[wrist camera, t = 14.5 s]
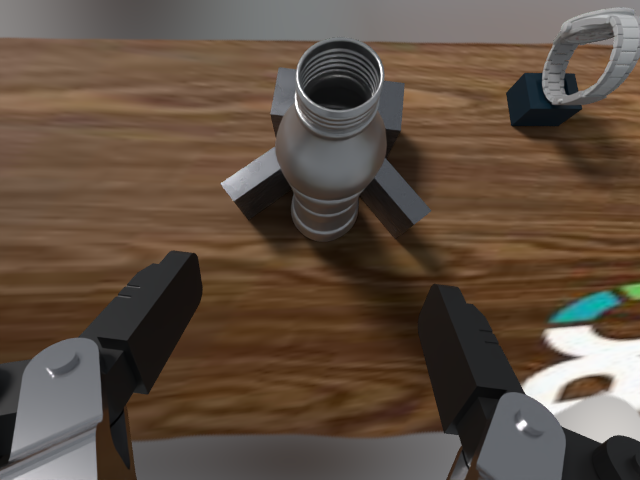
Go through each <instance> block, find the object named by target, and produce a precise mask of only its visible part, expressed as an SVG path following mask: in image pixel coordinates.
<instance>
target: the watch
mask: <svg viewBox="0 0 640 480" xmlns="http://www.w3.org/2000/svg"><path fill="white" fill-rule="evenodd" d="M634 13H635V10H633V9H630V8H622V7H621V8H610V9H603V10H597V11H593V12H589V13H585V14H582V15H579V16H576V17H574V18H571V19H569V20H567V21H566V22H565V23H563V25H562V27H561V31H560V32H559V34H558V35H557V36H556V38H555V39H554V41H553V47H552V49H551V50H550V52H549V54H548V57H547V60H550V61H546V62H545V65H544V69H543V70H547V71H543V73H524V74H523V75H522V76H521V78H520V79H519V80H518V81H517V82H516V83H515V84H514V85H513V86H512V87H511V88H510V89H509V91H508V92H507V93H506V95H507V101H508V108H509V114H510V120H511V126H559V125H561V124H562V123H563V122H565V121H566V120H568V119H569V118H570V117H572V116H573V115H574V114H576V113H577V112H579V111H580V110H581V109H582V106H581V105H585V104H590V103H593V102H596V101H599V100H602V99H604V98H606V95H608V94H610V93H611V92H612V91H614V90H615V89H617V88H618V87H619V86H620V84H622V83H623V82H624V80H625V79H626V78H627V77H628V75H629V73H631V71H632V70H633V68H634V66H635V65H636V63H637V60H638V59H639V57H640V16H634ZM612 37H615V38H614V45H613V47H614V49H613V50H612V53H611V57H610V60H615V61H609V63H608V65H607V67H606V69H605V73H603V74H602V76H601V77H600V79H599V80H598V81H597V83H595V84H594V85H593V86H591V87H589V88H588V89H586V90H584V91H579V92H578V87H577V82H576V78H575V74H565V71H564V70H566V68H567V65H568V63H569V61H565V60H570V58H571V56H572V54H573V53H574V51H573V50H575V49H576V48H577V46H578V45H579V44H580V45H584V44H587V43H591V42H597V41H601V40H606V39H609V38H612ZM555 53H566V54H555Z"/></svg>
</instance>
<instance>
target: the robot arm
mask: <svg viewBox="0 0 640 480" xmlns="http://www.w3.org/2000/svg"><path fill="white" fill-rule="evenodd" d="M201 297H202V281H201V274H200V268H199V261H198V257H197V255H196V254H195V253H189V252H181V251H170V252H169V253H168V254H167V255H166V257H165V258H164V259H163V260H162V261H161V262H160V264H151V265H150V266H148V267H146V268H145V269H143V270H141V271H140V272H138V273H137V274H136V275H135V276H134V277H133V278H132V280H131V281H130V282H129V283H128V284H127V287H124V288H123V289H122V290H121V292H120V293H119V294H118V297H115V298H114V299H113V300H112V301H111V302H110V304H109V305H108V306H107V307H106V308H105V309H104V310H103V311H102V312H101V313H100V314H99V316H98V317H97V318H96V319H95V320H94V321H93V322H92V323H91V324H90V325H89V326H88V328H87V329H86V330H85V331H84V332H83V333H82V334H81V335H80V336H79V337H78V338H72V339H67V340H63V341H61V342H58V343H56V344H54V345H51V346H50V347H48V348H46V349H44V350H43V351H42V352H40V353H39V354H38V355H36V356H35V357H34V358H33V359H30V360H24V361H17V362H10V363H4V364H0V480H137V478H136V473H135V466H134V459H133V450H132V442H131V434H130V427H129V419H128V411H127V406H126V403H127V402H128V400H129V399H130V397H131V395H132V394H133V393H141V394H149V392H150V390H151V388H152V387H153V385H154V383H155V381H156V380H157V378H158V376H159V374H160V373H161V371H162V369H163V367H164V365H165V364H166V362H167V360H168V358H169V357H170V355H171V353H172V351H173V350H174V348H175V346H176V344H177V343H178V341H179V339H180V337H181V335H182V334H183V332H184V330H185V328H186V327H187V325H188V323H189V321H190V320H191V318H192V316H193V314H194V312H195V311H196V309H197V307H198V305H199V303H200V301H201ZM418 333H419V337H420V341H421V345H422V349H423V353H424V357H425V361H426V365H427V369H428V372H429V376H430V380H431V384H432V388H433V392H434V396H435V400H436V404H437V407H438V411H439V415H440V419H441V423H442V427H443V431H444V433H446V434H454V435H459V437H460V441H461V444H462V446H461V447H460V449H459V451H458V453H457V455H456V458H455V461H454V463H453V465H452V467H451V470H450V472H449V474H448V477H447V479H446V480H640V442H639V441H637V440H635V439H632V438H630V437H626V436H620V435H617V436H613V437H611V438H609V439H608V440H607V441H605V442H604V443H602V444H601V443H599V442H597V441H594V440H592V439H590V438H587V437H585V436H582V435H580V434H578V433H575V432H573V431H570V430H568V429H566V428H564V427H562V426H560V424H559V422H558V421H557V419H556V418H555V417H554V415H553V414H552V413H551V412H550V411H549V410H548V409H547V408H546V407H545V406H543V405H542V404H541V403H539V402H538V401H537V400H535V399H533V398H531V397H529V396H527V395H526V394H525V393H524V391H523V389H522V387H521V385H520V383H519V381H518V379H517V377H516V375H515V373H514V372H513V370H512V368H511V366H510V364H509V362H508V360H507V358H506V356H505V354H504V352H503V350H502V348H501V347H500V346H499V345H498V341H497V339H496V337H495V335H494V334H492V329H491V327H490V325H489V323H488V322H487V320H486V318H485V316H484V315H483V314H482V313H481V312H480V311H479V310H478V309H477V308H476V307H475V306H474V305H473V304H466V301H465V299H464V297H463V295H462V293H461V291H460V289H459V288H458V287H455V286H447V285H439V284H433V285H432V286H431V288H430V290H429V293H428V295H427V298H426V300H425V303H424V305H423V307H422V310H421V312H420V315H419V319H418Z"/></svg>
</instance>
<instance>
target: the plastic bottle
mask: <svg viewBox="0 0 640 480" xmlns="http://www.w3.org/2000/svg"><path fill="white" fill-rule="evenodd" d="M295 82H296V90H295V95H294V102H295V103H294V104H293V105H292V106H291V107H289V109H288V110H287V112H286V113H285V114H284V116H283V118H282V121H281V123H280V125H279V129H278V132H277V137H276V142H275V151H276V157H277V161H278V164H279V166H280V169H281V171H282V173H283V175H284V177H285V178H286V180H287V182H288V183H289V185H290V186H291V188H292V190H293V193H294V195H293V198H292V204H291V216H292V220H293V222H294V224H295V226H296V228H297V229H298V230H299V231H300V232H301V233H302V234H303V235H304V236H306V237H308V238H310V239H311V240H315V241H320V242H327V241H332V240H335V239H337V238H339V237H341V236H343V235H344V234H346V233H347V232H348V231H349V230H350V229H351V228H352V226H353V225H354V223H355V221H356V218H357V215H358V207H359V202H358V197H359V195H360V194H361V192H362V191H363V190H364V189H365V188H366V187H367V186H368V185H369V184H370V182H371V181H372V180H373V179H374V178H375V176H376V175H377V173H378V171H379V170H380V168H381V166H382V164H383V162H384V159H385V156H386V148H387V141H386V131H385V125H384V122H383V119H382V117H381V115H380V113H379V112H378V107H379V102H380V94H381V91H382V88H383V84H384V67H383V65H382V62H381V60H380V58H379V56H378V55H377V53H376V52H375V51H374V50H373V49H372V48H371V47H369V46H368V45H366V44H365V43H363V42H361V41H359V40H356V39H352V38H345V37H337V38H335V37H334V38H329V39H325V40H322V41H320V42H318V43H316V44H314V45H313V46H311V47H310V48H309V49H308V50H307V51H306V52H305V53H304V54H303V56H302V57H301V58H300V61H299V63H298V65H297V70H296V76H295Z"/></svg>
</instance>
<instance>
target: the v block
mask: <svg viewBox="0 0 640 480" xmlns="http://www.w3.org/2000/svg"><path fill="white" fill-rule="evenodd" d="M295 76H296V70H295V69H287V68H279V70H278V75H277V81H276V86H275V92H274V97H273V103H272V108H271V119H272V123H273V127H274V132H275V136H276V137H277V132H278V129H279V125H280V123H281V121H282V118H283V116H284V114H285V113H286V112H287V110H288V109H289V107H291V106H292V105H293V104H294V103H295V102H294V95H295V90H296V82H295ZM403 96H404V83H398V82H390V81H384V84H383V88H382V91H381V94H380V102H379V107H378V112H379V113H380V115H381V117H382V119H383V122H384V125H385V131H386V141H387V148H386V156H385V159H384V162H383V164H382V166H381V168H380V170H379V171H378V173H377V175H376V176H375V178H374V179H373V180H372V181H371V182H370V184H369V185H368V186H367V187H366V188H365V189H364V190H363V191H362V192H361V194H360V195H359V196H360V197H361V199H362V200H363V201H364V202H365V203H366V205H367V206H368V207H369V208H370V209H371V211H372V212H373V213H374V214H375V215H376V217H377V218H378V219H379V220H380V221H381V223H382V224H383V225H384V226H385V227H386V229H387V230H388V231H389V232H390V233H391V235H392V236H393V237H394V238H395V239H396V238H397V237H399V236H400V235H401V234H402V233H404V232H405V231H406V230H408V229H409V228H410V227H412V226H413V225H414V224H415V223H417V222H418V221H419V220H421V219H422V218H423V217H424V216H426V215H427V214H428V213H429V212H431V210H430V209H429V207H428V206H427V205H426V204H425V203H424V202H423V201H422V199H421V198H420V197H419V196H418V195H417V194H416V193H415V191H414V190H413V189H412V188H411V187H410V186H409V185H408V183H407V182H406V181H405V180H404V179H403V178H402V177H401V175H400V174H399V173H398V172H397V171H396V170H395V169H394V167H393V166H392V165H391V164H390V163H389V162H388V161H387V157H388V155H389V153H390V151H391V149H392V147H393V145H394V143H395V141H396V139H397V137H398V135H399V133H400V131H401V121H402V109H403ZM221 185H222V186H223V188H224V189H225V190H226V192H227V193H228V194H229V196H230V197H231V198H232V200H233V201H234V202H235V204H236V205H237V206H238V207H239V209H240V210H241V211H242V212H243V214H244V215H245V216H246V218H247V219H248V220H249V219H251V218H252V217H254V216H255V215H256V214H258V213H259V212H261V211H262V210H263V209H265V208H266V207H268V206H269V205H270V204H272V203H273V202H275V201H276V200H278V199H279V198H280V197H282V196H283V195H285V194H286V193H287V192H289V191H290V190H292V188H291V186H290V185H289V183H288V182H287V180H286V178H285V177H284V175H283V173H282V171H281V169H280V166H279V164H278V161H277V157H276V151H275V147H274V148H272V149H271V150H269V151H268V152H266V153H265V154H263V155H262V156H260V157H259V158H258V159H256V160H255V161H253V162H252V163H250V164H249V165H247V166H246V167H244V168H243V169H241V170H240V171H238V172H237V173H235V174H234V175H232V176H231V177H230V178H228V179H227V180H225V181H224V182H222V183H221Z"/></svg>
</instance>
